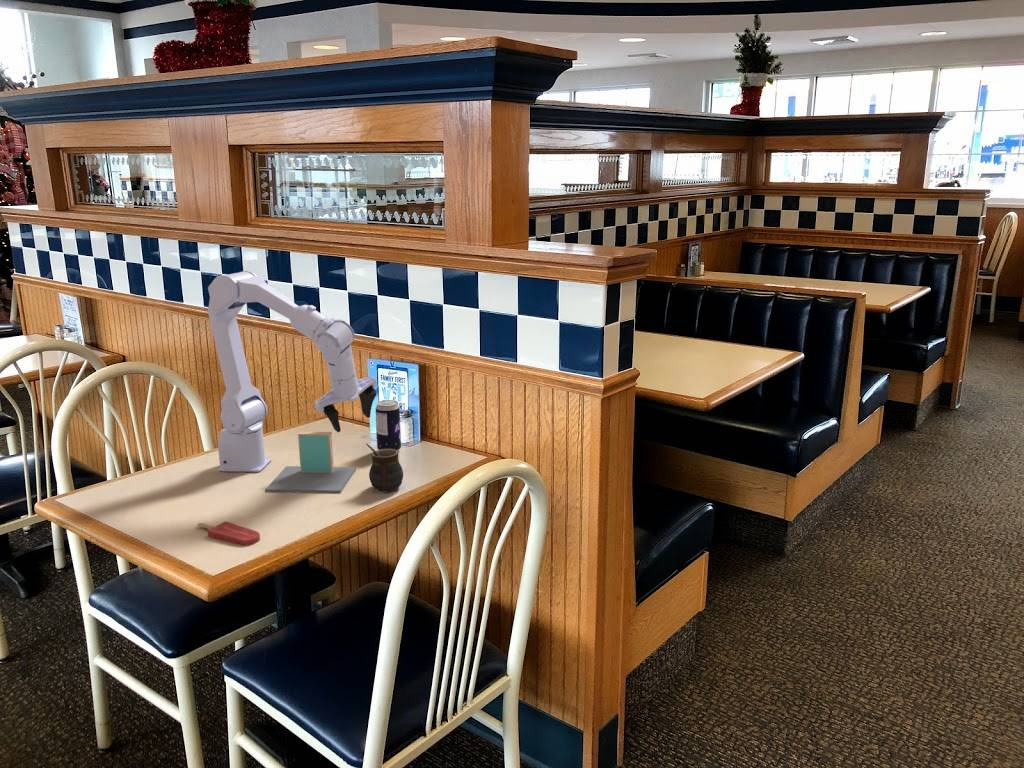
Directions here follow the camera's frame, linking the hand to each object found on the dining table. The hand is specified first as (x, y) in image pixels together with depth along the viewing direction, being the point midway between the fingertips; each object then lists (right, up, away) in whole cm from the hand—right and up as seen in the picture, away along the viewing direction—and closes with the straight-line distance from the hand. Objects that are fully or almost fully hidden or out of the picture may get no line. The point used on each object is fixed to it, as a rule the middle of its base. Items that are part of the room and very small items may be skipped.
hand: (352, 422), depth 186 cm
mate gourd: (+10, -14, -12) cm, 21 cm away
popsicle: (-17, -20, -34) cm, 43 cm away
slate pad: (-7, -12, -8) cm, 16 cm away
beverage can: (+7, -8, +11) cm, 15 cm away
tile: (-7, -11, -4) cm, 13 cm away
